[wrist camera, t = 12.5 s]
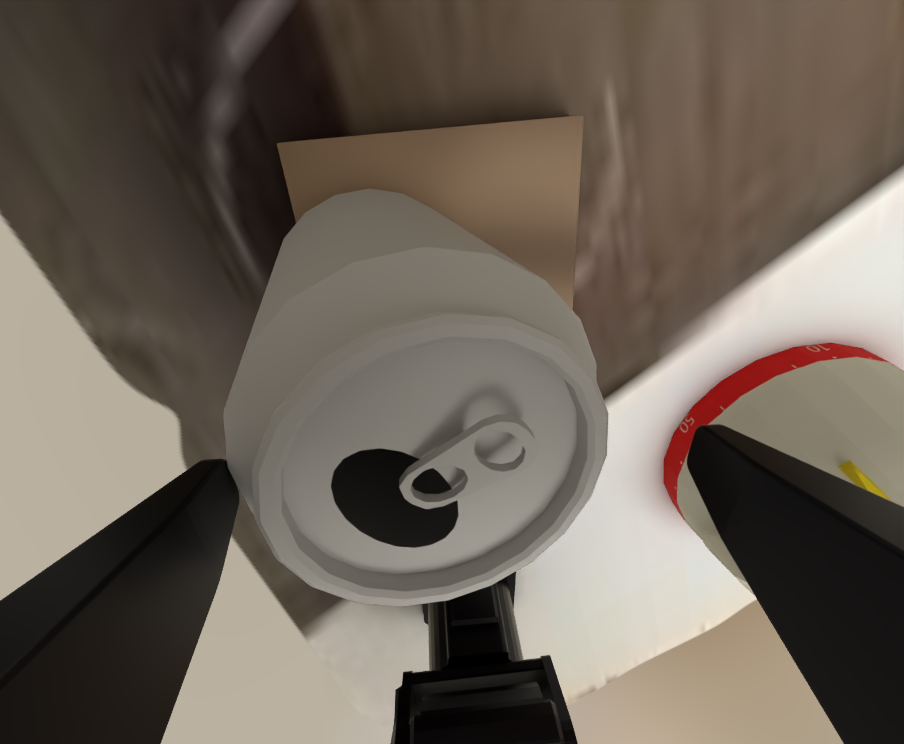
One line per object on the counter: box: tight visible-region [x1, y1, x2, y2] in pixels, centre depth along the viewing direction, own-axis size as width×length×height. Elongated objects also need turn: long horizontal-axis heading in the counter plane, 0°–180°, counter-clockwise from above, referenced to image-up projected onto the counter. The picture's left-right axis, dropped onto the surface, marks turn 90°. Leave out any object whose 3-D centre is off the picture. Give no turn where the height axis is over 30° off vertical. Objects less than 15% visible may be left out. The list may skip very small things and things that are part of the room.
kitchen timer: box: [664, 343, 904, 594], centre depth 20 cm, size 14×14×15 cm
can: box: [223, 189, 608, 607], centre depth 13 cm, size 8×8×12 cm
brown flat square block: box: [277, 115, 584, 310], centre depth 19 cm, size 11×11×2 cm
